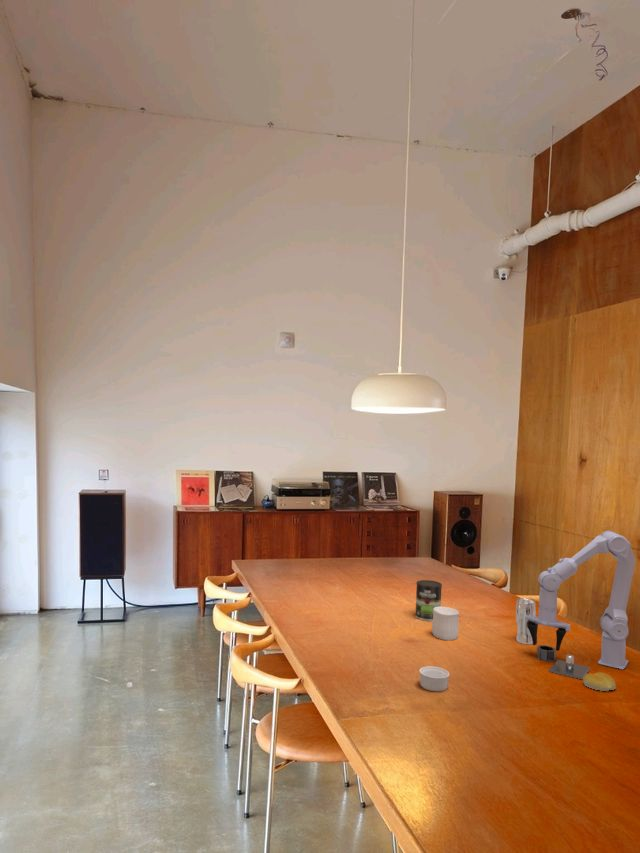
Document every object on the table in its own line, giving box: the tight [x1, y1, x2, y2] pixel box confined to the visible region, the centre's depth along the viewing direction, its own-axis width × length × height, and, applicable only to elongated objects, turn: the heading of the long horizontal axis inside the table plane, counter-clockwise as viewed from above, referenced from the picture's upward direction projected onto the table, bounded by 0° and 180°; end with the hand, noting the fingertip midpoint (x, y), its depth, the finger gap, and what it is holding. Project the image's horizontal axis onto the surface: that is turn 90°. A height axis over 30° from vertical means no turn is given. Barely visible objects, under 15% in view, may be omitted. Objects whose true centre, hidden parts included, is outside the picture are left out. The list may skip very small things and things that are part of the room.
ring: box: [536, 644, 557, 663], centre depth 205 cm, size 6×6×4 cm
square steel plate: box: [548, 654, 591, 680], centre depth 195 cm, size 11×10×5 cm
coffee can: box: [415, 579, 443, 622], centre depth 246 cm, size 10×10×14 cm
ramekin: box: [418, 665, 450, 692], centre depth 179 cm, size 9×9×4 cm
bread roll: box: [582, 671, 617, 692], centre depth 183 cm, size 8×9×4 cm
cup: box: [431, 606, 460, 641], centre depth 224 cm, size 10×10×10 cm
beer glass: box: [515, 597, 537, 645], centre depth 222 cm, size 7×7×15 cm
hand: (546, 647), depth 205 cm, fingers open, 7 cm apart
